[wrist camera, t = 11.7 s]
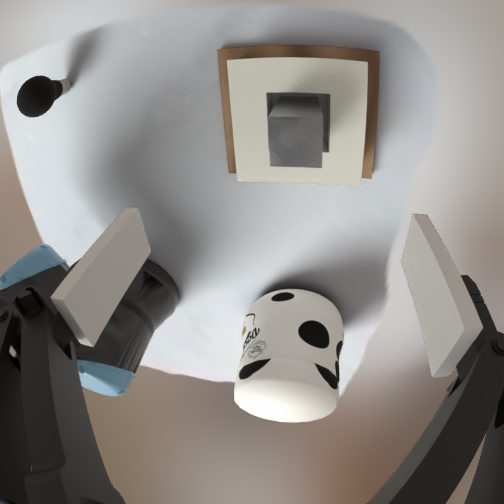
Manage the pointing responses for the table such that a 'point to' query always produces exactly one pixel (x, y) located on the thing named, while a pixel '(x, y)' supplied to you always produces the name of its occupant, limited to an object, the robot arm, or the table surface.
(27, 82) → the light bulb
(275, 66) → the well
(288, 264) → the table surface
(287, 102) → the brushed grey pillar
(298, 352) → the milk container
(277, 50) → the board
